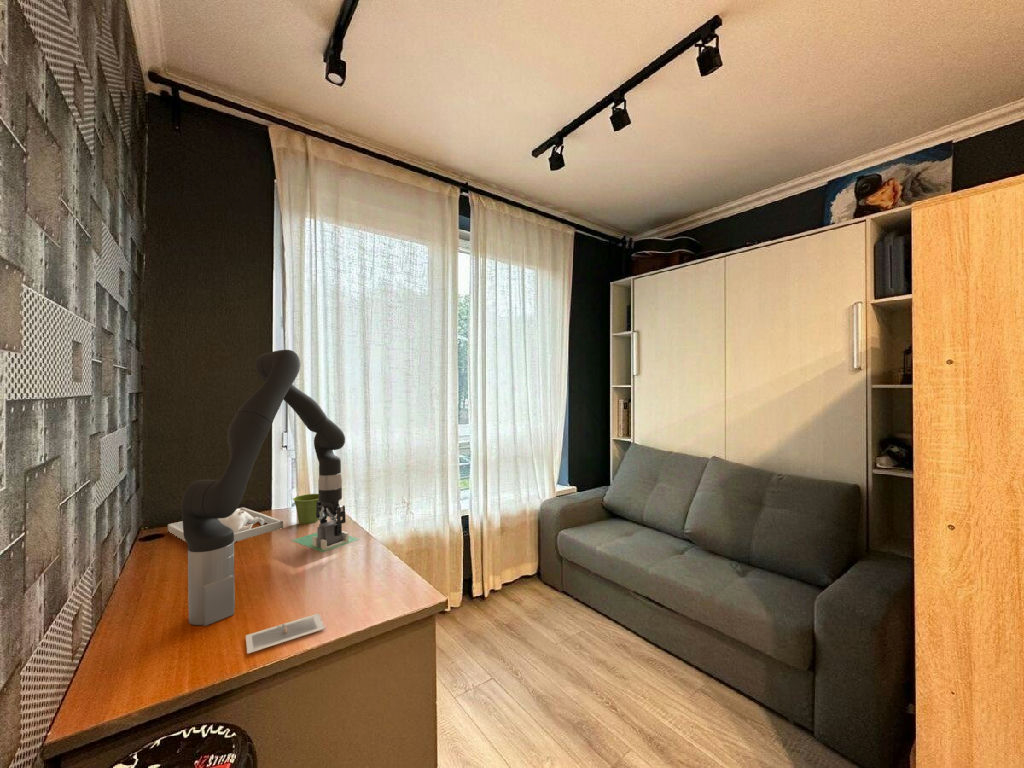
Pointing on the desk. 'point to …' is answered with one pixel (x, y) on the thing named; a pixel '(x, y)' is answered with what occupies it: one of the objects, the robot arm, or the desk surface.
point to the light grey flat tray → (271, 526)
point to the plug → (328, 533)
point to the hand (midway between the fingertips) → (330, 533)
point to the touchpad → (283, 632)
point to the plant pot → (306, 508)
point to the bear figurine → (240, 521)
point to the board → (323, 541)
